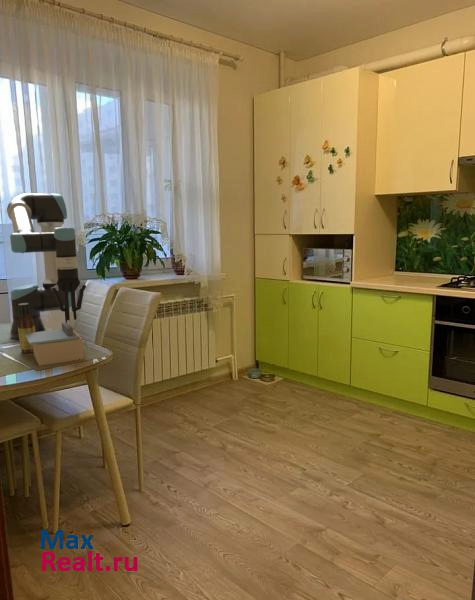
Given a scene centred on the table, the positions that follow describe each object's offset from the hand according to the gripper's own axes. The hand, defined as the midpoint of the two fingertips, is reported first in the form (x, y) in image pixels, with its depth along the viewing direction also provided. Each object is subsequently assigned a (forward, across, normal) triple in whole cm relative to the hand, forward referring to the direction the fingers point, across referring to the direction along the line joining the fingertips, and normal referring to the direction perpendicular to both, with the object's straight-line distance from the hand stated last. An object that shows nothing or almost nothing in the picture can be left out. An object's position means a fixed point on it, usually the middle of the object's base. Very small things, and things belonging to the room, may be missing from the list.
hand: (71, 328), depth 184 cm
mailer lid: (+3, -8, 0) cm, 8 cm away
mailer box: (+11, -6, 0) cm, 12 cm away
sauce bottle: (+11, -15, +15) cm, 24 cm away
